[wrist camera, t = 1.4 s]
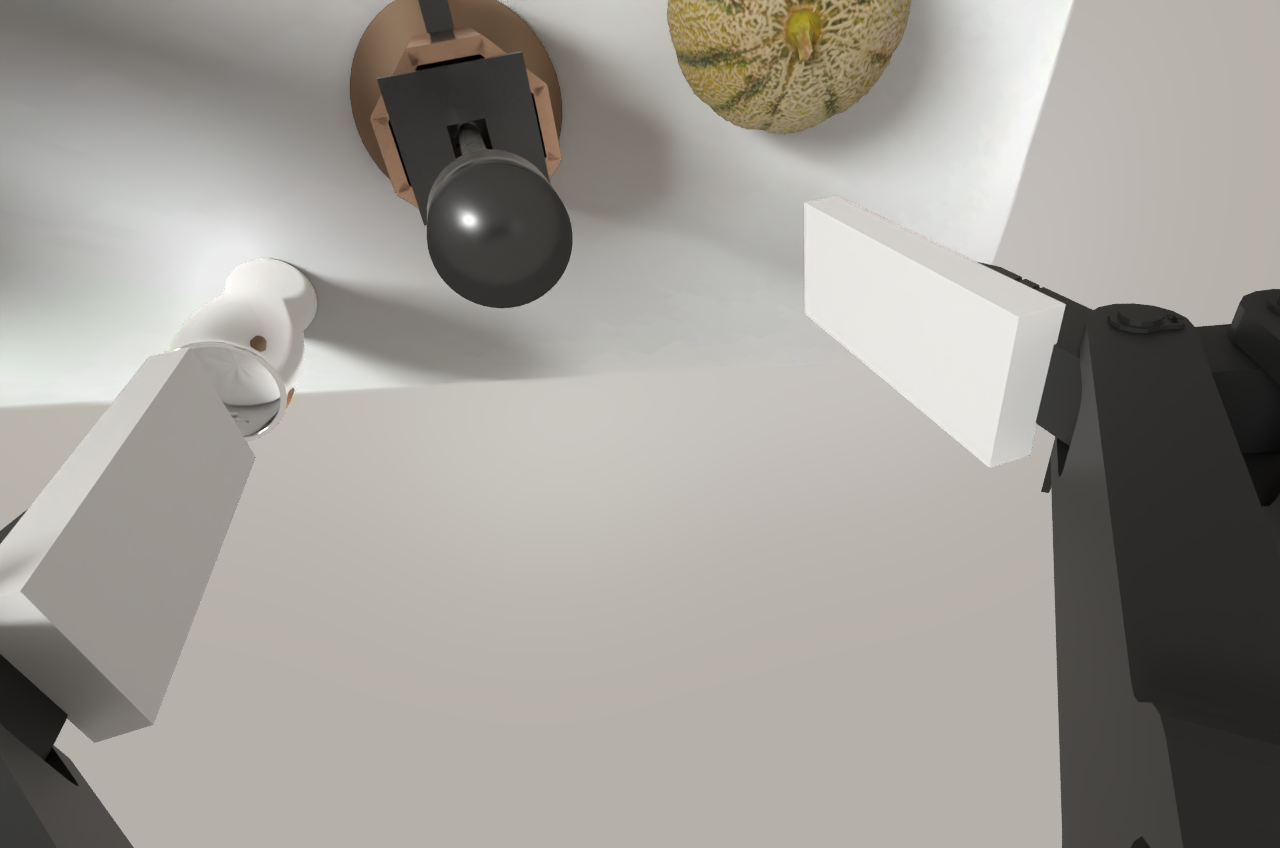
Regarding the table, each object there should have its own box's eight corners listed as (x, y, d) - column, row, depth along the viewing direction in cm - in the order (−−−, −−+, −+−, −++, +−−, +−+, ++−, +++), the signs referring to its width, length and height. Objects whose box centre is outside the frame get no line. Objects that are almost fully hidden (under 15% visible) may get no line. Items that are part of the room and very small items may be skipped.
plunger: (431, 197, 39) (435, 350, 22) (396, 83, 35) (367, 159, 18) (532, 175, 39) (611, 306, 23) (507, 62, 36) (577, 117, 19)
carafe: (415, 190, 47) (412, 247, 37) (351, -8, 41) (323, -11, 30) (541, 164, 49) (573, 211, 38) (498, -32, 42) (524, -44, 31)
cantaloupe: (873, -41, 48) (1025, -55, 36) (763, 152, 53) (863, 197, 41) (711, -186, 41) (830, -264, 29) (604, 51, 47) (667, 69, 34)
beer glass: (331, 338, 52) (302, 441, 40) (232, 343, 50) (169, 453, 38) (314, 250, 48) (275, 334, 36) (206, 252, 47) (127, 341, 34)
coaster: (394, 228, 49) (393, 230, 48) (315, 6, 41) (313, 7, 41) (577, 188, 51) (578, 190, 50) (536, -31, 43) (537, -31, 43)
